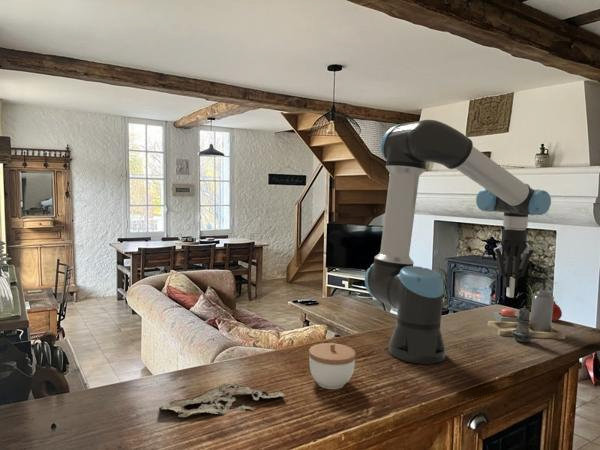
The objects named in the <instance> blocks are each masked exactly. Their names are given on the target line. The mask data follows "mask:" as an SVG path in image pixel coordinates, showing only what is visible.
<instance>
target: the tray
mask: <svg viewBox="0 0 600 450" xmlns="http://www.w3.org/2000/svg"><path fill="white" fill-rule="evenodd" d="M487 326H488V327H489V328H490V329H491V330H492V331H494V333H496V334H497V335H499V336H502V337H503V336H505V337H507V336H508V337H513V333H512V330H516V329H517V326H518V322H501V321H497V320H496V321H495V320H488V321H487ZM529 331H530V332H531V333H533V336H532V338H541V339H542V338H544V339H545V338H546V339H560V340H562V339H563V340H565V339H566V333H564V332H563V331H561V330H560V329H559V328H556V327H555V326H553V325H552V324H551V332H537V331H532V330H531V329H530V322H529Z"/></svg>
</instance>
